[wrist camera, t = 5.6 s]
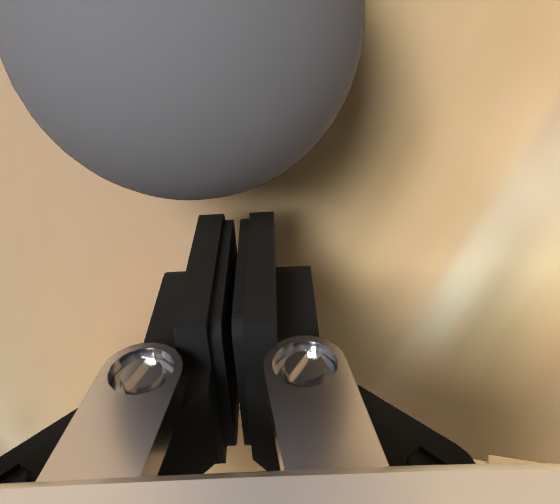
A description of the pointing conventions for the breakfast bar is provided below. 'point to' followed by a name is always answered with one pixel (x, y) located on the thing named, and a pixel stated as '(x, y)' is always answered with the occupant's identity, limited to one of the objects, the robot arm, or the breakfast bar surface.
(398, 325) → the breakfast bar surface
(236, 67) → the gray ball
